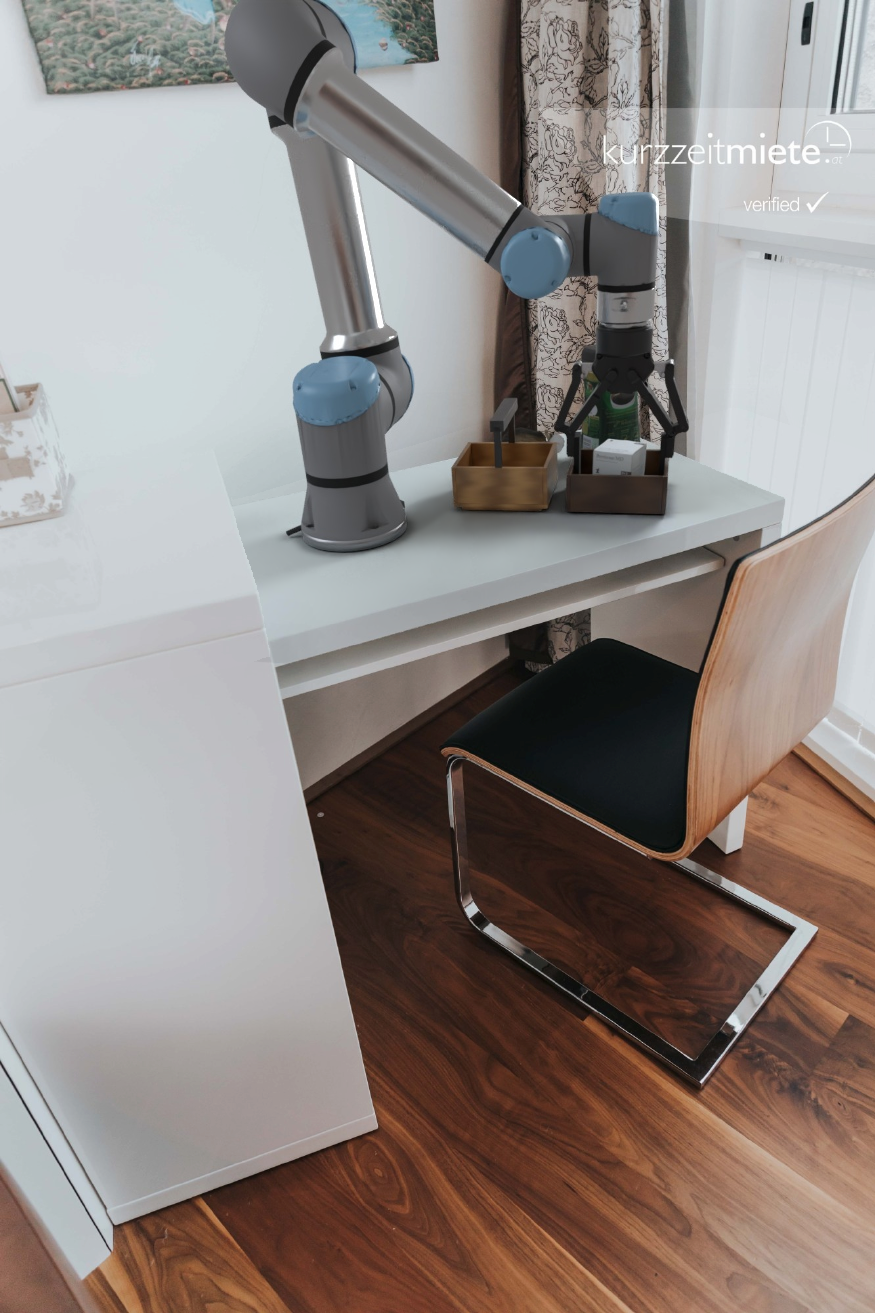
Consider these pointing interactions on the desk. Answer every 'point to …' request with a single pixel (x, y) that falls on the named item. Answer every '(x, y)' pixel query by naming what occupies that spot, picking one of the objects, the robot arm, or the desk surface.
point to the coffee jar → (608, 412)
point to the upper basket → (505, 469)
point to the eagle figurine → (536, 437)
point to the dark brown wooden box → (617, 488)
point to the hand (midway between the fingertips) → (618, 478)
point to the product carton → (619, 458)
